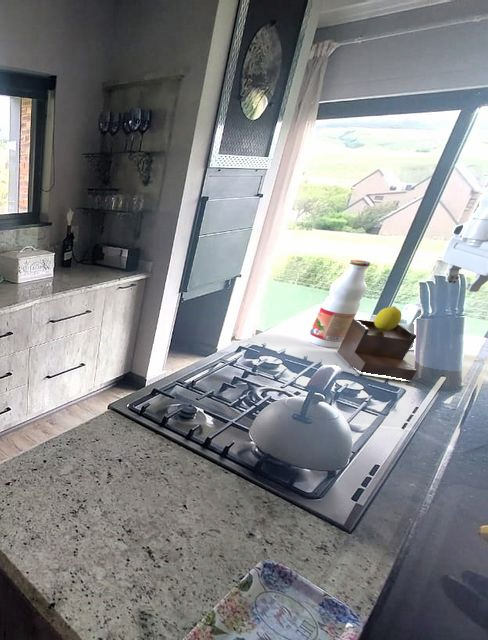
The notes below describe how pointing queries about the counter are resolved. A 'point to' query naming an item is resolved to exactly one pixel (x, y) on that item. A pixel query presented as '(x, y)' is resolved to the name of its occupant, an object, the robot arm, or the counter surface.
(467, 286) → the robot arm
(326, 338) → the fruit juice
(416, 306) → the syrup box
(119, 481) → the counter surface
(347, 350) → the brown stepped wooden block
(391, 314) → the lemon
